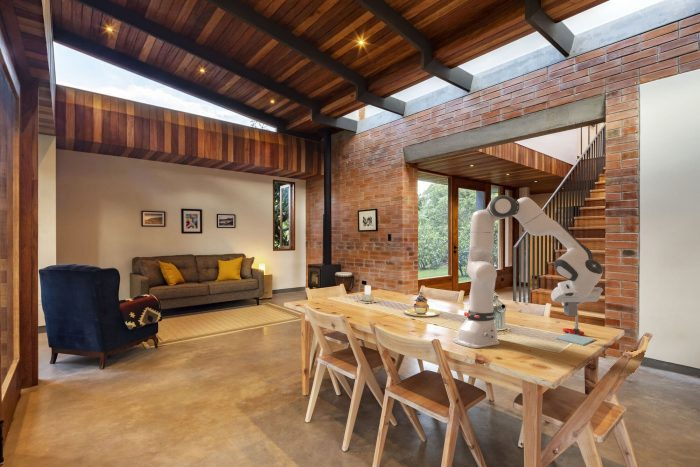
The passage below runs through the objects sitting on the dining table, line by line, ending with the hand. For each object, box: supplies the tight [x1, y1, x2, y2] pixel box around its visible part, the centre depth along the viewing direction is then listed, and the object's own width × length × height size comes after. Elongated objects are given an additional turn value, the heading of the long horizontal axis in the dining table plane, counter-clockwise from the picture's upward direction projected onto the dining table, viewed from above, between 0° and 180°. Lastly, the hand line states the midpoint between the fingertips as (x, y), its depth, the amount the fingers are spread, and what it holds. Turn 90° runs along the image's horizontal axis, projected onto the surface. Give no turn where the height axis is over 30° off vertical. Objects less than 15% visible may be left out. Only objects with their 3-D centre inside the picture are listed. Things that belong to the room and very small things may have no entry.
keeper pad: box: [555, 332, 596, 346], centre depth 168 cm, size 13×12×1 cm
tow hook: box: [562, 308, 585, 335], centre depth 180 cm, size 8×13×9 cm
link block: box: [563, 302, 578, 317], centre depth 167 cm, size 4×4×9 cm
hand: (569, 304), depth 168 cm, fingers closed on link block, 4 cm apart
